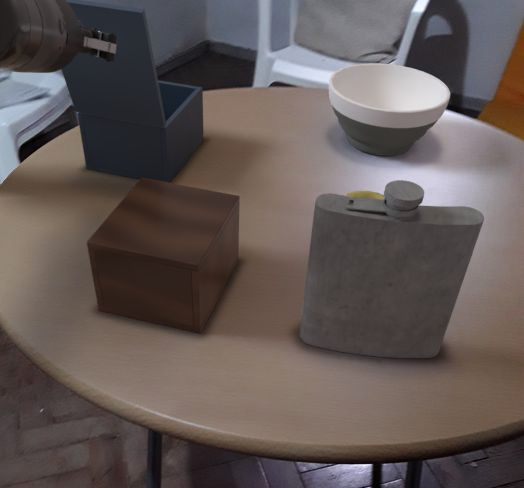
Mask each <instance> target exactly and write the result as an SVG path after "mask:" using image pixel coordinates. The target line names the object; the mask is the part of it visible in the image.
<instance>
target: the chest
mask: <svg viewBox="0 0 524 488" xmlns="http://www.w3.org/2000/svg"><path fill="white" fill-rule="evenodd" d="M158 83H159V88H160V94H161V99H162V104H163V110H164V115H165V120H166V125H165V127H161V126H155V125H149V124H143V123H138V122H132V121H126V120H120V119H114V118H109V117H103V116H97V115H91V114H86V113H80V112H76V113H77V120H78V125H79V131H80V137H81V138H80V139H81V145H82V150H83V157H84V162H85V163H84V164H85V169H86V170H90V171H96V172H101V173H107V174H112V175H116V176H122V177H126V178H127V177H128V178H132V179H137V180H140V179H141V178H148V179H153V180H158V181H164V182H169V183H172V181H173V180H174V179H175V177H176V176H177V175H178V173H179V172H181V170H182V169H183V167H184V166H185V165H186V163H187V162H188V161H189V160H190V158H191V157H192V156H193V154H194V153H195V152H196V151H197V149H198V148H199V147H200V145H201V144H202V143H203V141H204V96H203V95H204V93H203V91H204V87H203V86H197V85H196V86H195V85H189V84H183V83H177V82H172V81H165V80H159V79H158Z"/></svg>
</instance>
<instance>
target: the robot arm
mask: <svg viewBox="0 0 524 488" xmlns="http://www.w3.org/2000/svg"><path fill="white" fill-rule="evenodd" d="M117 38H118V36H115V35H114V34H113V33H109V34H108V33H104V32H101V31H97V29H95V28H92V29H90V28H89V29H87V28H86V27H83V25H82V21H79V20H77V18H76V15H75V13H74V11H73V9H72V8H71V6H70V5H69V4H68V2H67V1H66V0H0V70H5V71H9V72H12V73H24V74H25V73H29V74H31V73H32V74H51V73H55V72H58V71H62V68H64V67H65V66H67V65H68V64H69V63H70V62H71V61H72V59H73V58H74V57H75V56H78V55H79V52H80V53H85V54H87V53H89V55H92V56H94V55H95V56H96V57H100V58H103V59H106V61H108V62H111V61H114V60H115V54H116V46H117Z"/></svg>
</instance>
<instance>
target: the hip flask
mask: <svg viewBox="0 0 524 488" xmlns="http://www.w3.org/2000/svg"><path fill="white" fill-rule="evenodd" d="M383 195H384V198H385V199H384V200H382V199H371V198H359V197H348V196H344V195H343V194H338V193H330V192H328V193H322V194H320V195H318V196H317V197H316V198H315V202H314V208H313V209H314V210H313V218H312V226H311V233H310V241H309V251H308V258H307V268H306V269H307V270H306V276H305V283H304V285H305V286H304V292H303V300H302V301H303V302H302V310H301V319H300V324H299V325H300V326H299V327H300V328H299V333H298V335H299V336H298V337H299V339H300V340H301V341H302V342H303V343H304V344H306V345H309V346H313V347H317V348H321V349H325V350H329V351H335V352H340V353H341V352H342V353H345V354H346V353H347V354H352V355H360V356H368V357H377V358H378V357H379V358H389V359H390V358H391V359H392V358H395V359H431V358H435V357H437V356H438V355H439V353H440V350H441V347H442V344H443V342H444V338H445V335H446V332H447V329H448V327H449V323H450V320H451V318H452V315H453V312H454V309H455V306H456V303H457V300H458V297H459V294H460V291H461V288H462V285H463V282H464V280H465V277H466V274H467V270H468V268H469V265H470V262H471V260H472V256H473V253H474V250H475V248H476V244H477V241H478V239H479V235H480V232H481V230H482V228H483V227H482V226H483V224H484V222H485V216H484V214H483V213H482V212H481V211H479V210H478V209H476V208H474V207H471V206H461V205H460V206H459V205H458V206H457V205H456V206H454V205H452V206H446V205H443V206H442V205H441V206H440V205H421V204H423V202H424V201H423V200H424V197H425V189H424V188H423V187H422V186H421V185H419V184H417V183H415V182H413V181H408V180H404V179H398V180H391V181H389V182H388V183H386V184H385V186H384V191H383Z"/></svg>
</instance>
